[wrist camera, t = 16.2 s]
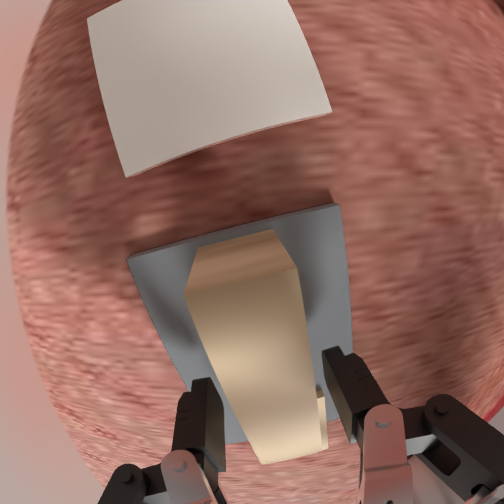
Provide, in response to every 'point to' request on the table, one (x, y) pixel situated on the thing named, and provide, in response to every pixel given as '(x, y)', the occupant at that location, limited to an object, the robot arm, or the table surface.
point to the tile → (200, 74)
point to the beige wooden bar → (259, 343)
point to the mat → (311, 282)
